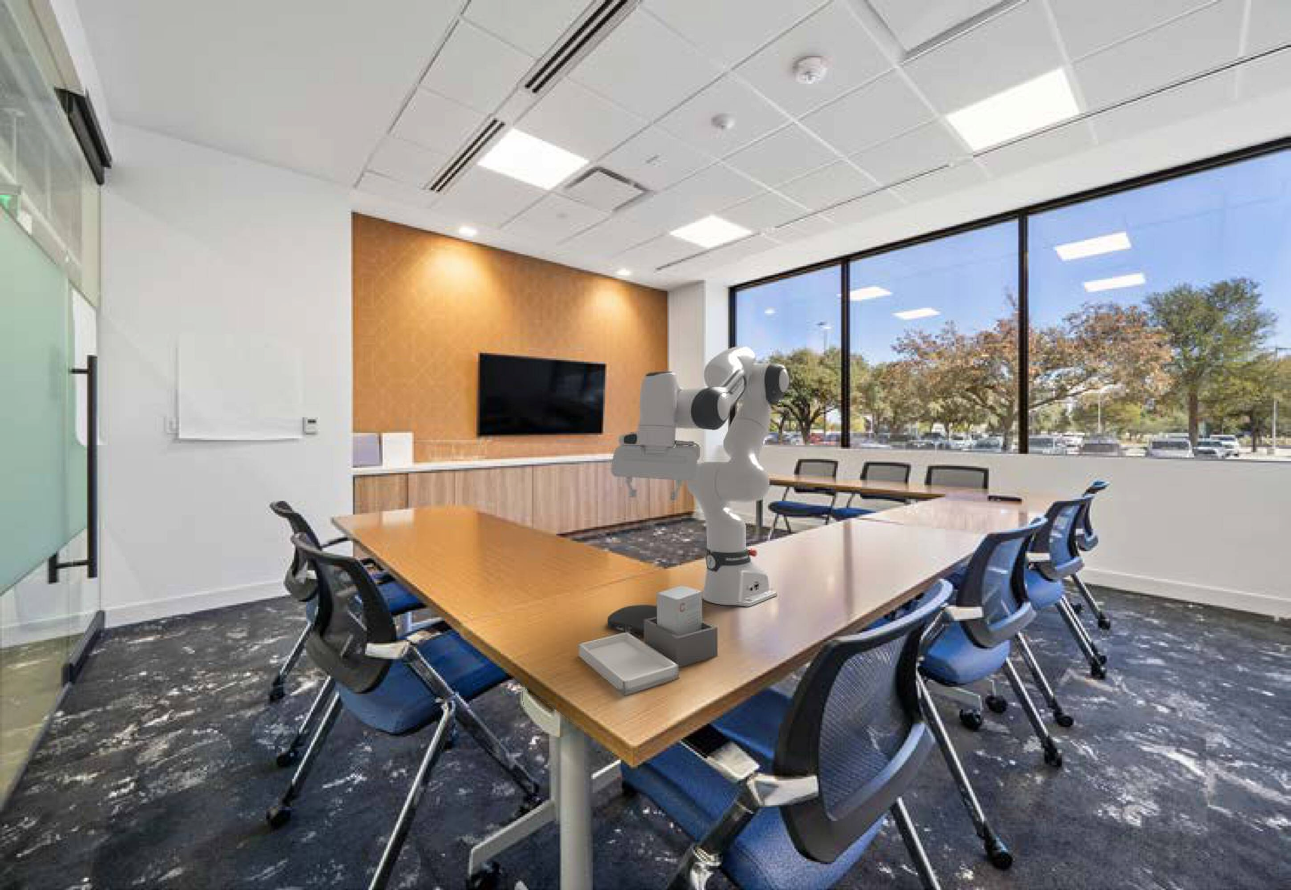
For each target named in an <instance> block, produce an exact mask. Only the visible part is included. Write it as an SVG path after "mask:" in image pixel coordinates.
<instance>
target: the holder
mask: <svg viewBox="0 0 1291 890" xmlns="http://www.w3.org/2000/svg"><path fill="white" fill-rule="evenodd" d="M643 643H645V644H646V645H648V646H649V647H651V648H652V649H654V650H656V651H657V652H659V653H660V654H662V655H663V656H665V657H666V658H668V659H669V660H671V661H673V662H674V663H676V664H677V665H679V668H682V667H686V666H688V665H692V664H694V663H698V662H701V661H706V660H708V659H712V658H714V657H717V656H719V655H718V653H719V652H718V651H719V650H718V648H719V647H718V646H719V645H718V627H717V626H715V625H713V624H711V623H708V622H706V621H704V620H703V619H702V630H700V631H696V632H693V633H689V634H685V635H681V636H676V635H674V634H672V633H671V632H669V631H667V630H665V629H664V628H662V627H660V626H658V625H657V617H653V618H649V619H645V620H644V638H643Z"/></svg>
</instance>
